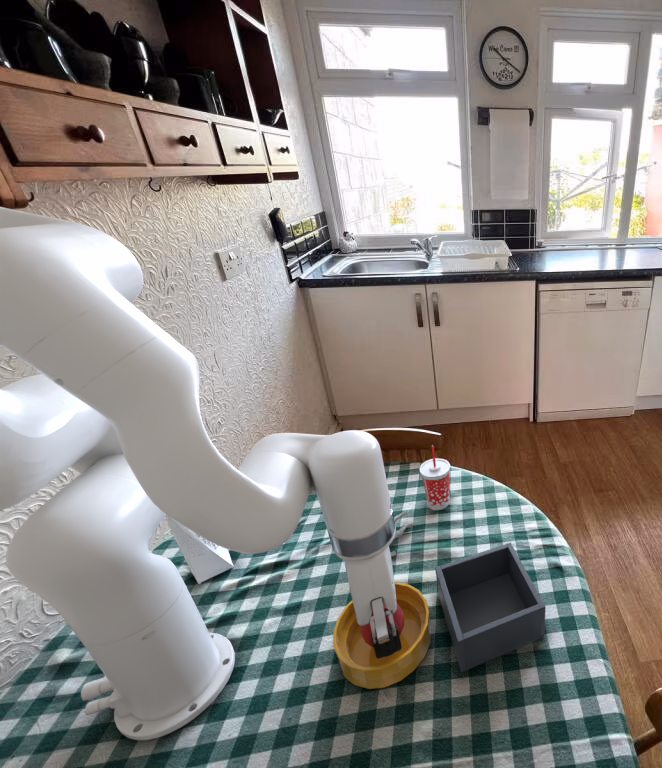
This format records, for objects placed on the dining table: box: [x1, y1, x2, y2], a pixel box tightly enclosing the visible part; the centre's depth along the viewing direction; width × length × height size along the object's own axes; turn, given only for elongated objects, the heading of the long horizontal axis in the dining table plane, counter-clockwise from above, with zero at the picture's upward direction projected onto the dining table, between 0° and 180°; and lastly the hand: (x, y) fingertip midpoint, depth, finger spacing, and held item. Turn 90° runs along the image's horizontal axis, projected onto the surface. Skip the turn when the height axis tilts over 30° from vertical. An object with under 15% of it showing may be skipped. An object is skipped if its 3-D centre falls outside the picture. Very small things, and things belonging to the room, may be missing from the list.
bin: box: [434, 542, 546, 673], centre depth 62 cm, size 13×13×7 cm
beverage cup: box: [419, 445, 451, 511], centre depth 83 cm, size 6×6×14 cm
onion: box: [361, 603, 404, 647], centre depth 58 cm, size 6×6×8 cm
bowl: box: [332, 581, 433, 690], centre depth 59 cm, size 13×13×4 cm
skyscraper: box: [165, 515, 235, 585], centre depth 66 cm, size 8×8×28 cm
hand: (384, 619), depth 58 cm, fingers open, 9 cm apart
